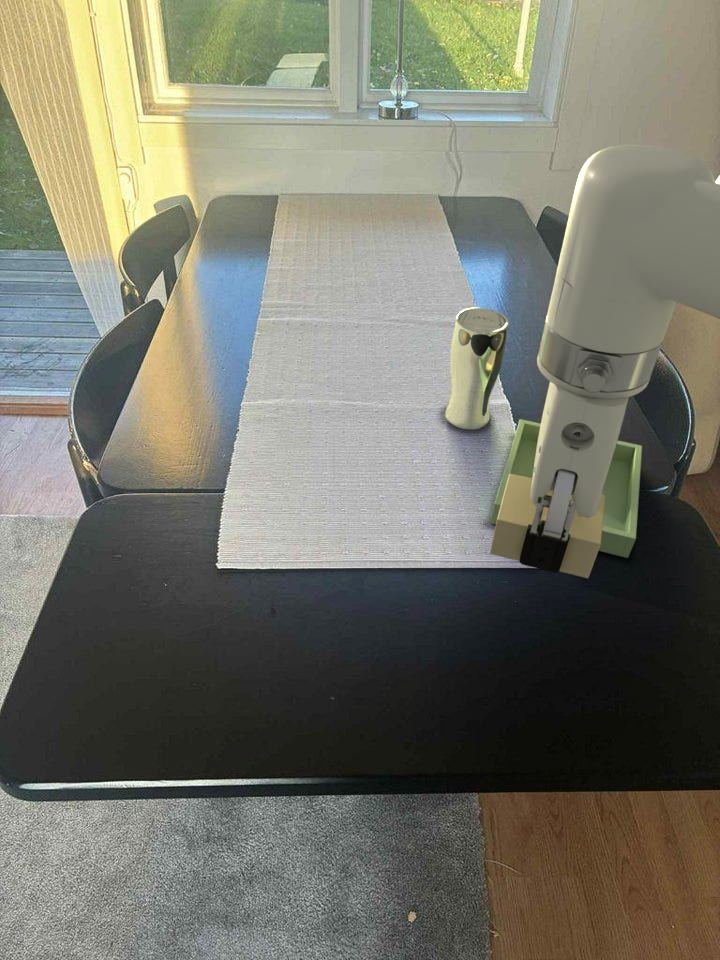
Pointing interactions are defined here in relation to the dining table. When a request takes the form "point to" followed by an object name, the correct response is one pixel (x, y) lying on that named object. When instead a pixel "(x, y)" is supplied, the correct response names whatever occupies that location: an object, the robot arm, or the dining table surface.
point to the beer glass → (475, 365)
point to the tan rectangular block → (521, 513)
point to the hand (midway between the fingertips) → (544, 536)
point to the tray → (617, 490)
